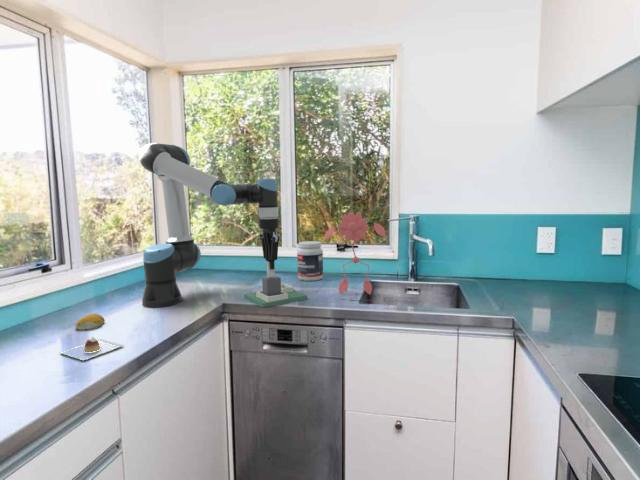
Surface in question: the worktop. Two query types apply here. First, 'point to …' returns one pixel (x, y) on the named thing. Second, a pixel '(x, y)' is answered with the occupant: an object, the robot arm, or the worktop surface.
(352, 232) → the pink flower sprig
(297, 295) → the board
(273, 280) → the plug
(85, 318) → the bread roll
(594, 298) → the worktop surface
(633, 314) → the worktop surface
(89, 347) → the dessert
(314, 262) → the supplement tub
